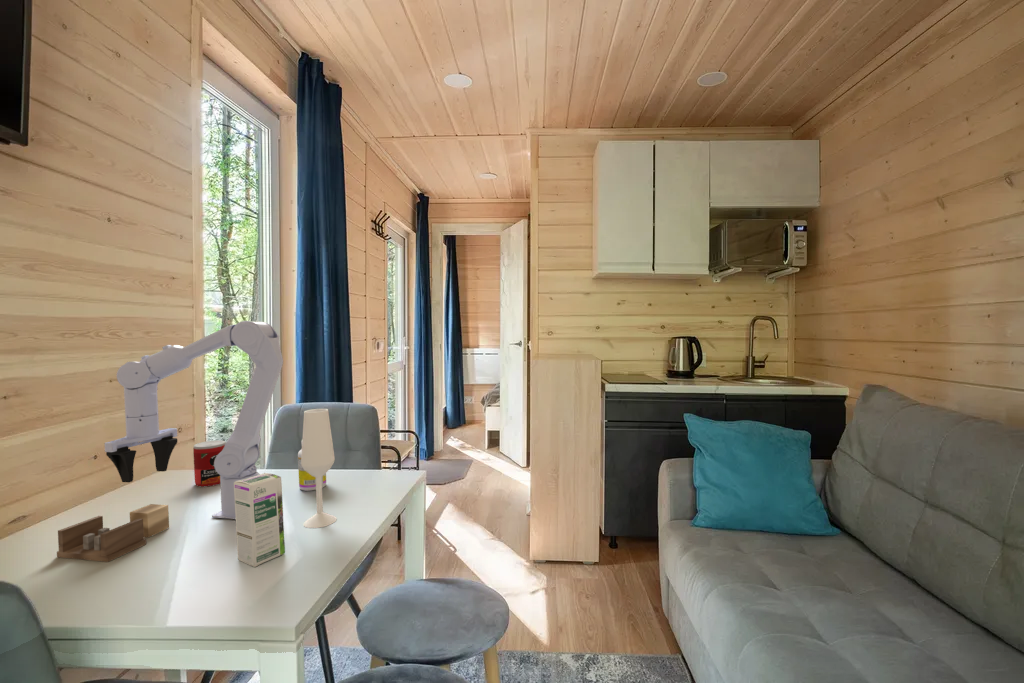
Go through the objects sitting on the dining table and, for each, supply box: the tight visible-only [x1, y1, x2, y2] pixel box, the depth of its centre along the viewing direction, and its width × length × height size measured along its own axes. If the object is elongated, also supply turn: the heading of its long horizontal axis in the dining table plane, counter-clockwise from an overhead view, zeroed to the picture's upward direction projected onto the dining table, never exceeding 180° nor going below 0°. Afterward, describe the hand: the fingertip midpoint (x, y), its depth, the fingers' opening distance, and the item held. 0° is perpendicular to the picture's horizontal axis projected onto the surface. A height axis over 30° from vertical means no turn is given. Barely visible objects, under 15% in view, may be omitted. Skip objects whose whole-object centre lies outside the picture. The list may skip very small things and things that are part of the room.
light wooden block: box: [129, 503, 170, 538], centre depth 96 cm, size 4×4×5 cm
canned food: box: [192, 439, 227, 488], centre depth 128 cm, size 8×8×11 cm
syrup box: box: [234, 472, 286, 568], centre depth 83 cm, size 6×6×14 cm
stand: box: [56, 515, 147, 563], centre depth 88 cm, size 12×7×5 cm, turn 78°
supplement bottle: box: [297, 439, 327, 492], centre depth 122 cm, size 7×7×13 cm
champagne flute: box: [301, 408, 337, 529], centre depth 99 cm, size 7×7×24 cm
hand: (145, 476), depth 102 cm, fingers open, 7 cm apart
